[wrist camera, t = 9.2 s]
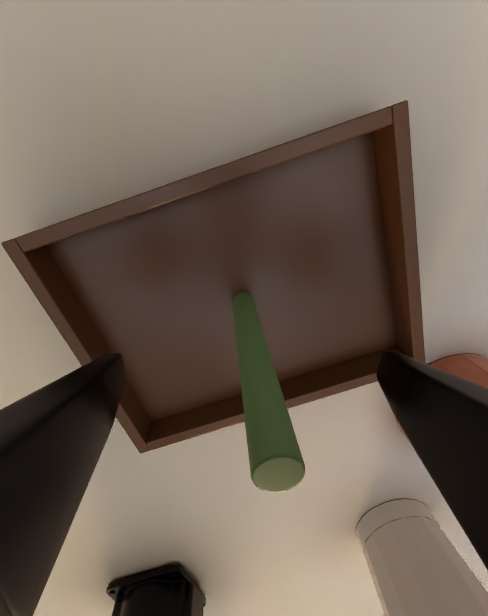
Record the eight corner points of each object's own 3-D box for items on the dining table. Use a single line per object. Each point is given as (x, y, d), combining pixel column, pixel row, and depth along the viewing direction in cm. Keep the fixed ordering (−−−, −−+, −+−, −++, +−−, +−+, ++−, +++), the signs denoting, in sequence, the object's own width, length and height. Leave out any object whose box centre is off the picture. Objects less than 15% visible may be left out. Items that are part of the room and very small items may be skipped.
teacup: (399, 452, 20) (455, 533, 16) (389, 374, 17) (453, 443, 13) (500, 423, 20) (588, 496, 15) (506, 338, 17) (616, 395, 12)
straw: (235, 314, 15) (260, 499, 6) (229, 295, 14) (244, 465, 5) (256, 308, 15) (311, 484, 6) (249, 289, 14) (299, 448, 5)
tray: (148, 425, 18) (140, 454, 16) (32, 235, 13) (-1, 243, 11) (402, 346, 17) (425, 366, 15) (378, 113, 12) (408, 99, 10)
